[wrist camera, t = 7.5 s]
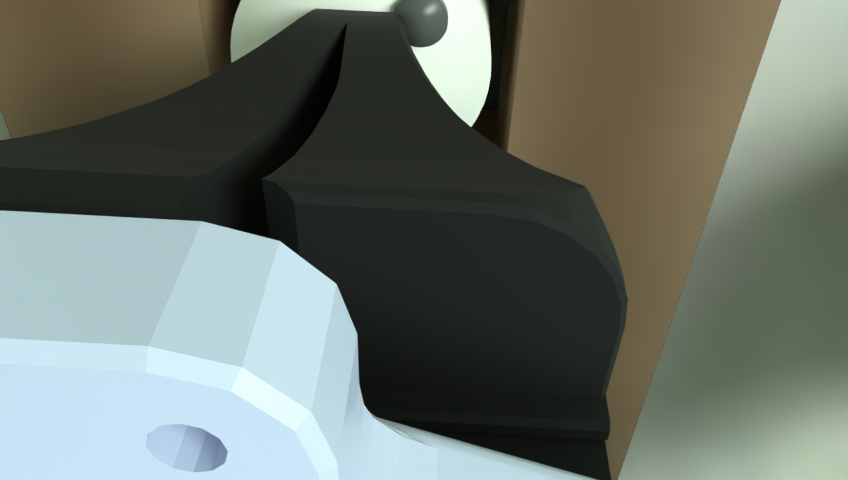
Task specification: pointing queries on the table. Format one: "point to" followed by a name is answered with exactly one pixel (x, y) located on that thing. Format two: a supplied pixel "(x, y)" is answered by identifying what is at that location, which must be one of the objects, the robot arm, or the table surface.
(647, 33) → the button board
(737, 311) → the table surface
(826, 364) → the table surface
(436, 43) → the button three
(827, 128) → the table surface
